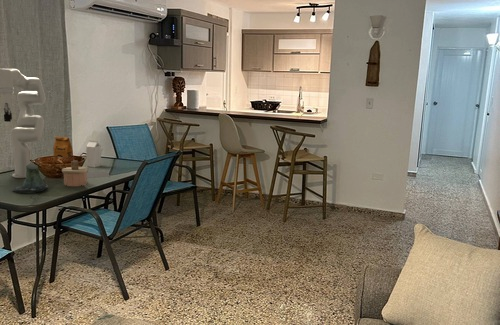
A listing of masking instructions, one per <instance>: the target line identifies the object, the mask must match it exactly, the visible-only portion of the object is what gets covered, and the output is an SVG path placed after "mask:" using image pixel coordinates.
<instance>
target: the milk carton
mask: <svg viewBox="0 0 500 325" xmlns="http://www.w3.org/2000/svg"><path fill="white" fill-rule="evenodd" d="M101 146H102V145H101V144H100V143H99V142H98V140H91V139H89V141H88V143H87V144H86V146H85V147H86V149H85V150H86V153H85V154H86V168H98V167H101V166H102V153H101V152H102V150H101V149H102V148H101Z"/></svg>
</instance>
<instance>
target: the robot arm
mask: <svg viewBox="0 0 500 325" xmlns="http://www.w3.org/2000/svg"><path fill="white" fill-rule="evenodd" d="M14 87H15V88H18V89H20V90H21V91H20V92H18V93H17V97H16V98H17V99H16V100H17V104H18V107H19V114H18V118H17V120H16V121H17V122H16V125H17V127H13V128H12V129H11V130H10V138H11V141H12V142H11V143H12V149H13V162H14V163H13V164H14V165H13V166H14V173H12V177H13V178H17V179H24V178H25V179H26V166H27V165H29V164H32V159H31V158H32V157H31V148H30V146H29V144H27V143H39V142H41V139H42V137H43V133H44V129H45V120H44V117H43V116H42V115H39V114H38V115H37V114H35V110H34V109H33V108H32V107H31V105H40V106H41V105H44V104H46V101H47V98H46V93H45V88H44V86H43V83H42V80H41V79H40V78H38V77H31V76H29V77H27V76H25V75H24V74H22V73H21V72H20V70H19V69H17V68H1V67H0V107H1V112H3V121H4V122H6V123H7V122H11V121H12V120H13V115H12V110H13V96H12V95H13V94H14V93H15V92H14V90H15V89H14ZM30 160H31V161H30Z"/></svg>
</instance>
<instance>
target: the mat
mask: <svg viewBox="0 0 500 325" xmlns="http://www.w3.org/2000/svg"><path fill="white" fill-rule="evenodd" d="M106 177H107V178H108V177H109V178H110V177H111V176H110V174H109V172H108V171H107V170H105V171H87V179H89V178H90V179H92V178H106Z"/></svg>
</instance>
